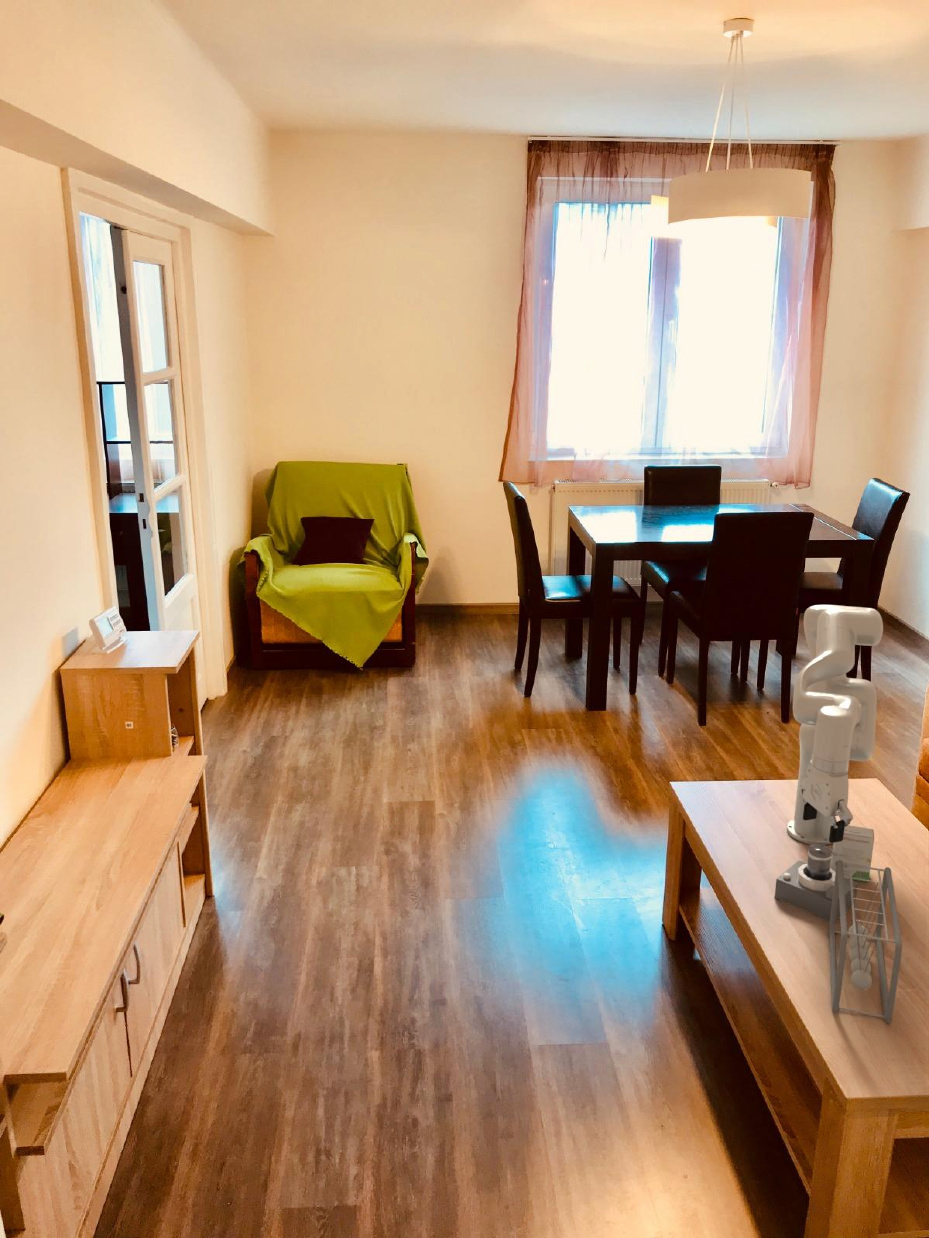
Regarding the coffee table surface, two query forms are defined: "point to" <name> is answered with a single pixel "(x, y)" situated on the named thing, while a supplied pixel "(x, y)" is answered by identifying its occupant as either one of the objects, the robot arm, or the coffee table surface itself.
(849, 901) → the camera body
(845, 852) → the ink box
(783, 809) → the coffee table surface
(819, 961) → the coffee table surface
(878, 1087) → the coffee table surface
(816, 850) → the lens
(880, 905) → the newton's cradle
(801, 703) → the robot arm
